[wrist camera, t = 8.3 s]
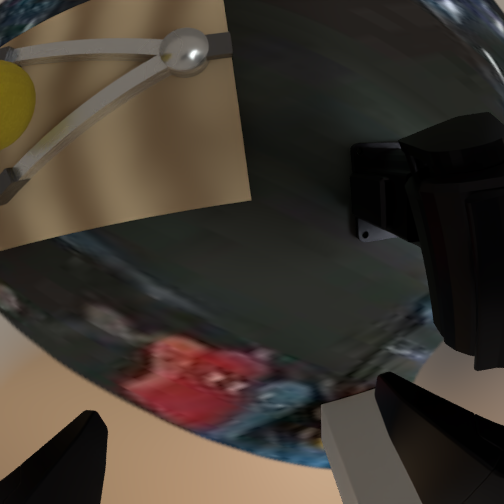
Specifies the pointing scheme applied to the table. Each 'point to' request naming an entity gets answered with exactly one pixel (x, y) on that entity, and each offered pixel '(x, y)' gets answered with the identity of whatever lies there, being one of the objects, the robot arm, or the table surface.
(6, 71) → the lemon
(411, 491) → the milk
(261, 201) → the table surface
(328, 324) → the table surface
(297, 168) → the table surface
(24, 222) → the board
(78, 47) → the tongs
